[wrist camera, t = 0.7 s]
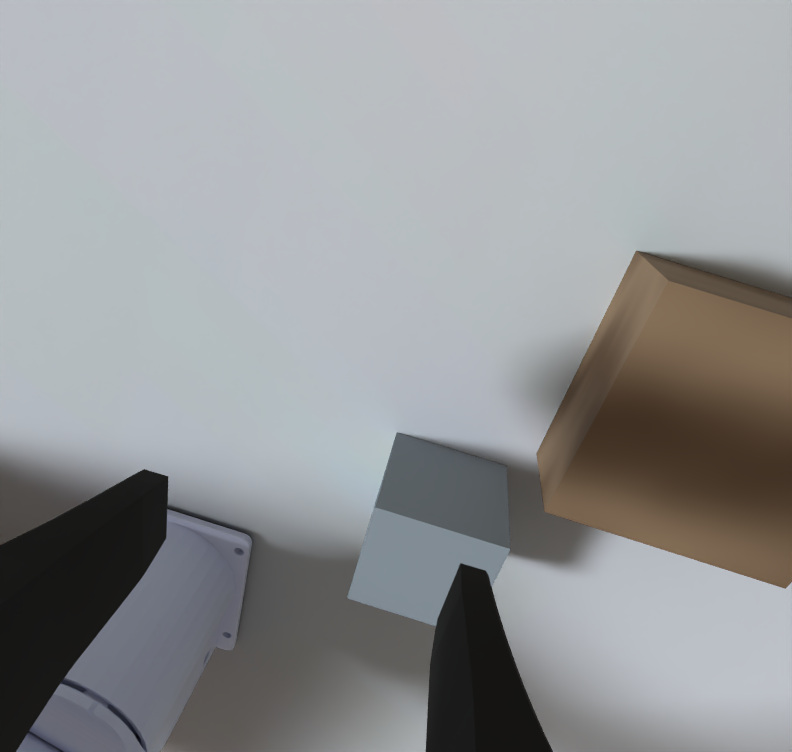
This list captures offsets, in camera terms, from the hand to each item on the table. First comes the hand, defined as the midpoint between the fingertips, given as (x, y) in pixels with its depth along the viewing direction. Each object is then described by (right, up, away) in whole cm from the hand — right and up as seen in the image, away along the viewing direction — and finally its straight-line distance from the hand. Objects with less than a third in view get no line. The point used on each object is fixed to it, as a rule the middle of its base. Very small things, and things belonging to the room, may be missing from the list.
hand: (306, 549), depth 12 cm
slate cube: (+4, -1, +12) cm, 12 cm away
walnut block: (+14, +3, +8) cm, 16 cm away
